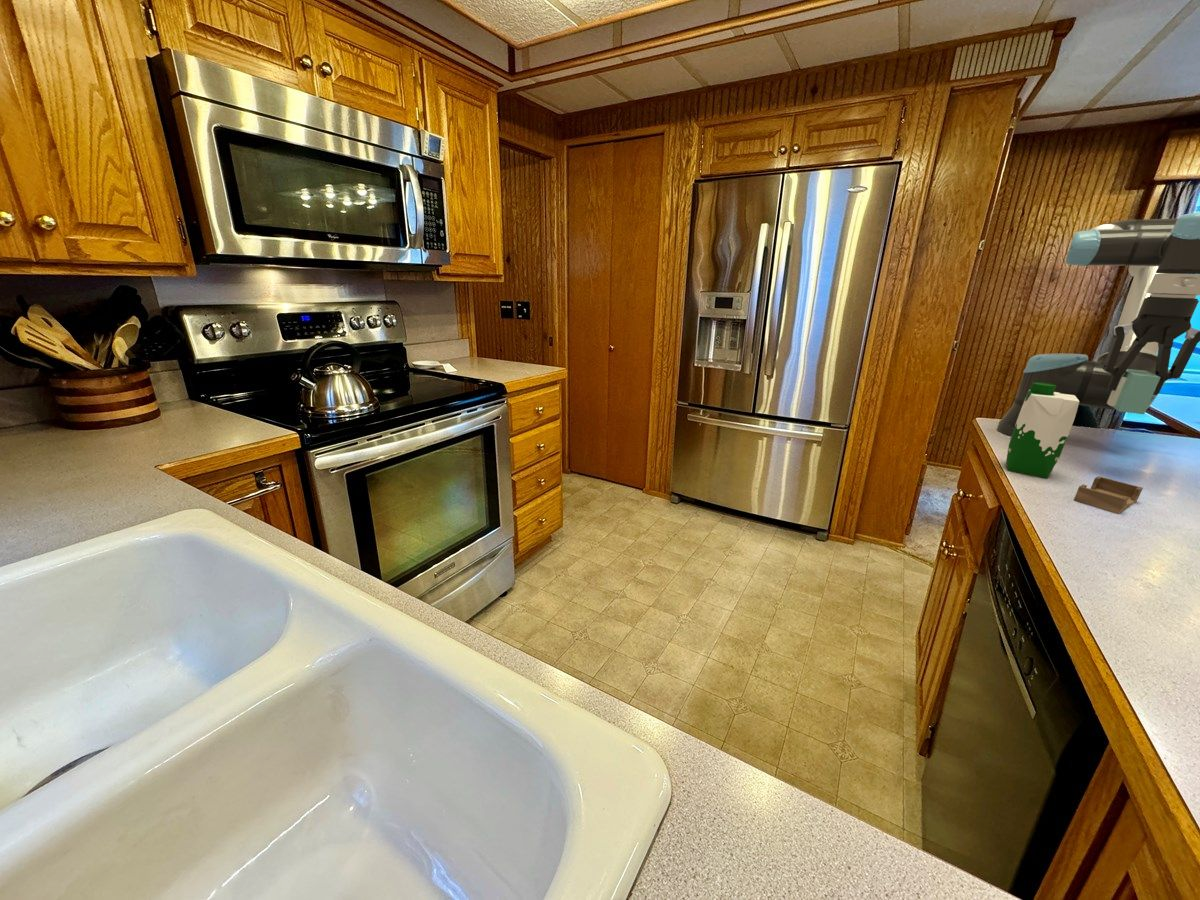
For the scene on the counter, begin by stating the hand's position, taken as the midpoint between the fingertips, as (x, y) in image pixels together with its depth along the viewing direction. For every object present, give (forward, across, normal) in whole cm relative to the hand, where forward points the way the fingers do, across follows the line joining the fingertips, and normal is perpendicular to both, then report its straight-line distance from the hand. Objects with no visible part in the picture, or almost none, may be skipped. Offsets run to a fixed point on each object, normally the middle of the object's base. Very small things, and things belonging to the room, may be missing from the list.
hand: (1125, 406), depth 106 cm
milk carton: (+16, -14, -10) cm, 23 cm away
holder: (+15, -3, -22) cm, 27 cm away
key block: (0, 0, 0) cm, 0 cm away
